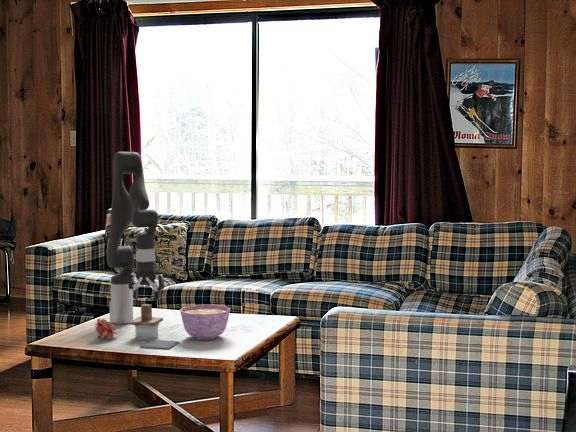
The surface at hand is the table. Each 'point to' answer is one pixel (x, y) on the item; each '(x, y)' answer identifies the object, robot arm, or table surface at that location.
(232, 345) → the table surface
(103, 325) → the flower
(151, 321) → the lid
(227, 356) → the table surface
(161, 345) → the mat
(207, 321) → the bowl of food
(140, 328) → the jam crock
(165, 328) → the table surface
